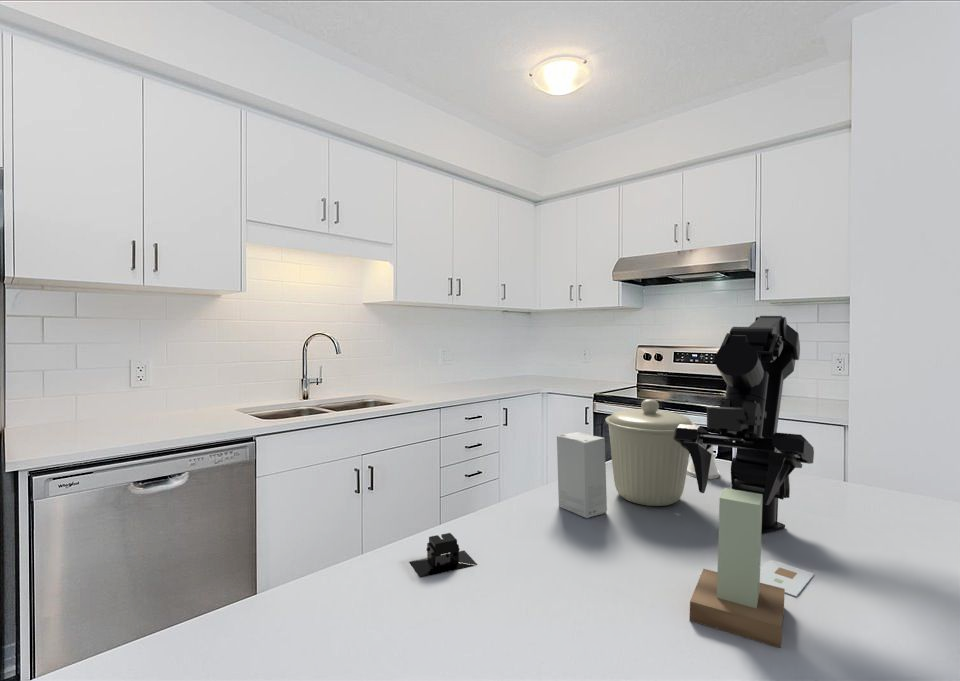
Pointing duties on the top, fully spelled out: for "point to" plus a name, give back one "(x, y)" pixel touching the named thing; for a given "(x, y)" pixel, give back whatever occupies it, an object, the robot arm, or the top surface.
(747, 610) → the foundation slab
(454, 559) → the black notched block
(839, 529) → the top surface
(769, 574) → the blueprint card
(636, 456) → the canister
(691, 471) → the vase
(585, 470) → the skincare box
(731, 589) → the pillar
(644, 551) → the top surface
